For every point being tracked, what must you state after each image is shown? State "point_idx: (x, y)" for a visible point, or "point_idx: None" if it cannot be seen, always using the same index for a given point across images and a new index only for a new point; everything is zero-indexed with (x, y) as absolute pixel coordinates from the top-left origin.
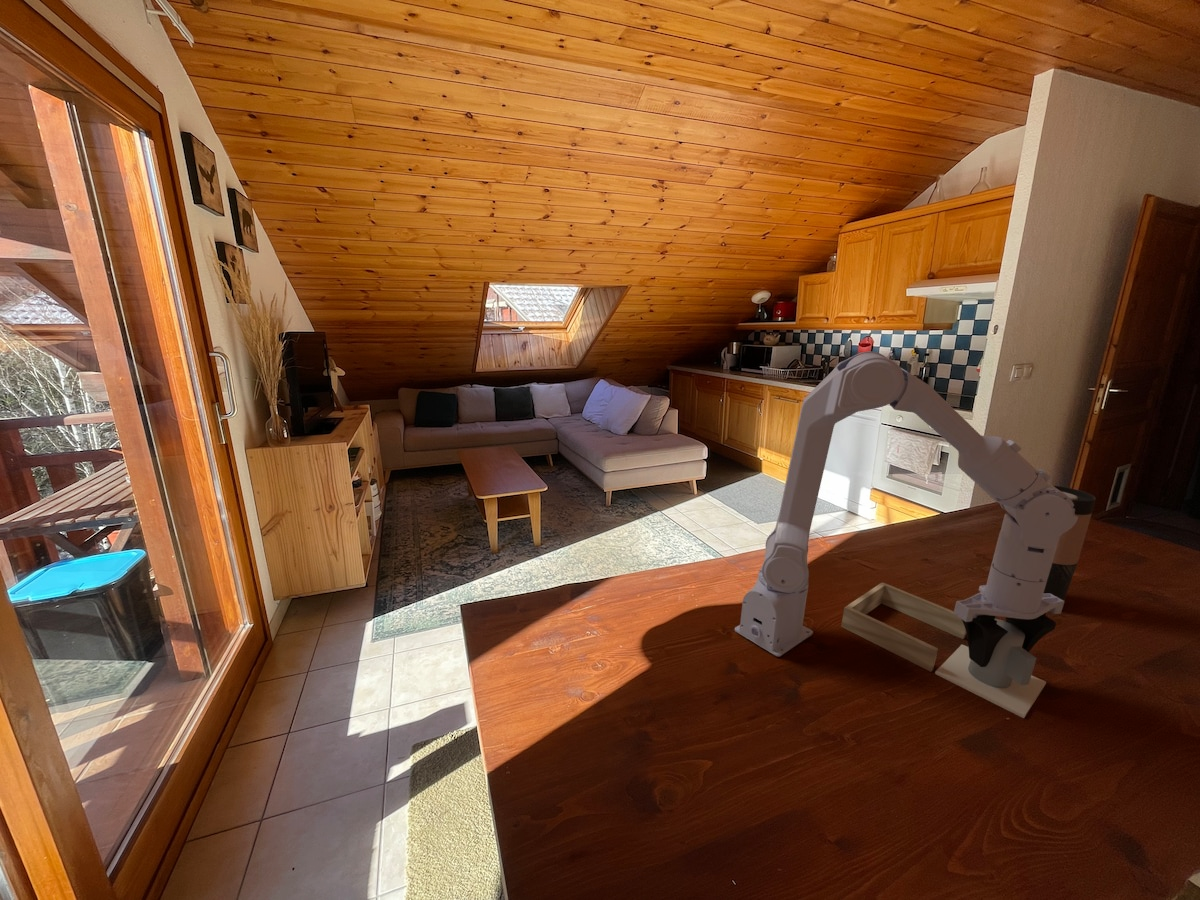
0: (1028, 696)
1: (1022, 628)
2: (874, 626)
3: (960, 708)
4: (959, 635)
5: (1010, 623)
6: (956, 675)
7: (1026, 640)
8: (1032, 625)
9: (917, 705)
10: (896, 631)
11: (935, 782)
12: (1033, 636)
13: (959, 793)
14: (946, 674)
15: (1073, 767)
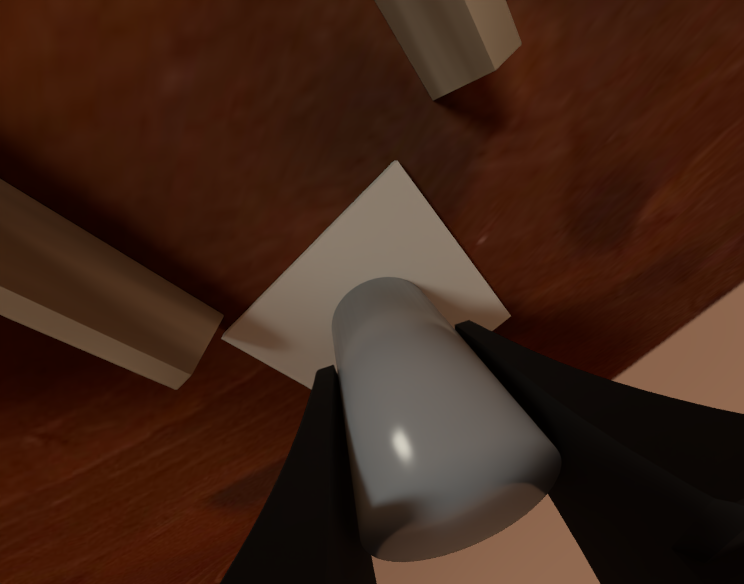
0: None
1: (569, 485)
2: None
3: (248, 429)
4: (429, 81)
5: (558, 452)
6: (283, 343)
7: None
8: (612, 567)
9: (136, 449)
10: None
11: (139, 566)
12: (558, 506)
13: (175, 565)
14: (253, 344)
15: None
